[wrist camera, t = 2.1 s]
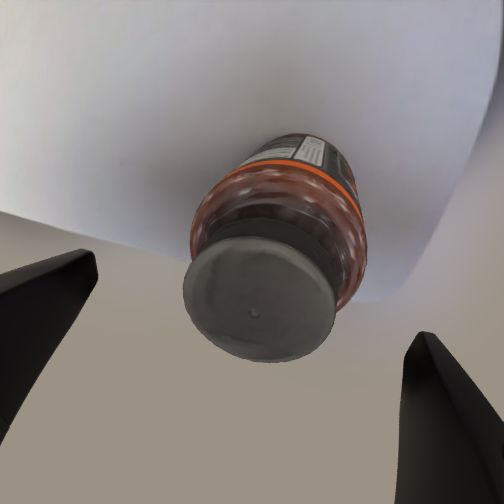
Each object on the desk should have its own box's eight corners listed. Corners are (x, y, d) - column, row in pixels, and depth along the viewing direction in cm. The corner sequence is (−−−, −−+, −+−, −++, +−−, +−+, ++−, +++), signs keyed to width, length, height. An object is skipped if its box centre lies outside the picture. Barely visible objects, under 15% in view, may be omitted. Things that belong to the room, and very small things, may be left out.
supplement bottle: (358, 227, 18) (372, 388, 8) (260, 235, 20) (188, 381, 10) (347, 124, 15) (373, 185, 6) (239, 139, 17) (116, 218, 7)
